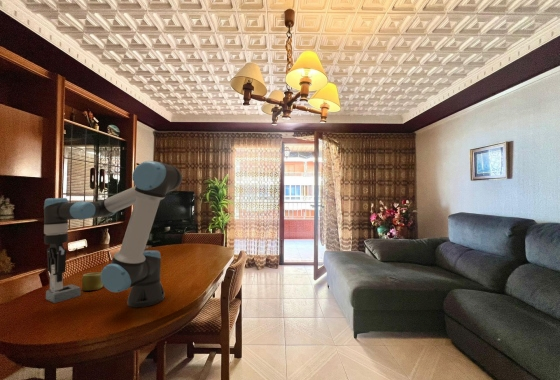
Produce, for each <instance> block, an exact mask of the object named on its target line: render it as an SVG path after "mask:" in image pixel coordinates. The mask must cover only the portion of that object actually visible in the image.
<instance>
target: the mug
mask: <svg viewBox="0 0 560 380" xmlns="http://www.w3.org/2000/svg"><path fill="white" fill-rule="evenodd" d="M101 272H102V271H101ZM101 272H88V273H83V275H82V279H81V282H82V287H81V288H82V289H81V290H82V291H83V292H88V291H89V292H90V291H98V290H100V289H102V288H103V287H104V285H103V283H102V281H101Z"/></svg>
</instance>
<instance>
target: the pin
mask: <svg viewBox="0 0 560 380" xmlns="http://www.w3.org/2000/svg"><path fill="white" fill-rule="evenodd" d="M53 274H55V265H54V264H52V265H51V291H52V292H54V275H53ZM59 290H61V289H59ZM59 290H55V291H59Z"/></svg>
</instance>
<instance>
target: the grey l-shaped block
mask: <svg viewBox="0 0 560 380" xmlns="http://www.w3.org/2000/svg"><path fill="white" fill-rule="evenodd" d="M50 274H51V273H50V272H49V275H50ZM81 288H82V287H80V286H78V285H75V284H72V283H70V284H66V285H63V289H61V290H59V291H54V292H52V291H51V289H50V288H49V289H48V290H45V300H47V301H48V302H50V303H53V304H56V303H60V302H63V301H68V300H70V299H74V298H78V297H81V295H82V291H81V290H82V289H81Z"/></svg>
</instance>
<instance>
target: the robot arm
mask: <svg viewBox="0 0 560 380" xmlns="http://www.w3.org/2000/svg"><path fill="white" fill-rule="evenodd" d="M131 179H132V181H133V185H134V186H133V187H130V188H128V189H126V190H123V191H120V192H118V193H116V194H114V195H112V196H109V197H107V198H105V199H102V200H99V201H70V202H69V200H68V198H66V197H59V198H58V197H55V198H54V197H53V198H52V197H51V198H49V197H48V198H46V199H45V200H44V203H43V204H44V205H43V215H44V217H43V218H44V220H43V222H44V225H43V234H44V237H43V242H44V244H45V245H49V247H48V248H46V255H47V256H46V257H47V272H49V289H51V274H50V273H51V265H52V264H54V265H55V274H53V275H54V291H55V290H59V289H63V286H64V273H66V264H67V263H66V260H67V259H66V257H67V251H68V250H67V249H65V247H64V244H65V243H67V242H68V241H69V234H68V232H69V231H68V230H69V229H68V228H69V227H70V225H69V224H68V223H69V220H80V221H81V220H89V219H95V218H96V219H97V218H98V219H99V218H109V217H111V216H112V217H113V216H114V215H116V213H117V212H119V211H121V210H124V209H126V208H129V207H131V206H133V207H132V211H131V214H130V217H129V220H128V224H127V227H126V231H125V234H124V237H123V239H122V243H121V246H120V248H119V250H118V251H116V252H115V253H114V254H113V255H112V256H113V257H112V260H111V263H108V264H107V265H106V266H104V267H103V269H102V270H101V281H102V283H103V287H104V288H105V289H106V290H108V291H109V292H112V293H120V292H123V291H127V290H129V289H130V288H131V289H130V290H129V293H128V297H127V306H128V307H130V308H145V307H149V306H154V305H156V304H158V303H160V302H162V301H163V300H164V299H165V290H164V287H163V285H162V282H161V273H162V271H161V266H162V265H161V263H162V262H161V260H162V258H161V252H160V251H159V250H150V249H149V250H146V245H147V243H148V240H149V237H150V234H151V231H152V227H153V225H154V221H155V219H156V215H157V211H158V209H159V206H160V202H161V201H162V200H164V199H165V198H166V195H167V194H168V193H170V192H173V191H175V190H177V189H178V188H179V187H180V186H181V184H182V182H183V175H182V173H181V171H180V170H179V169H178V167H176V166H174V165H171V164H167V163H163V162H159V161H153V160H147V161H143V162H141V163H139V164H138V165H137V166H136V167H135V168H134V170H133V173H132V176H131Z"/></svg>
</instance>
